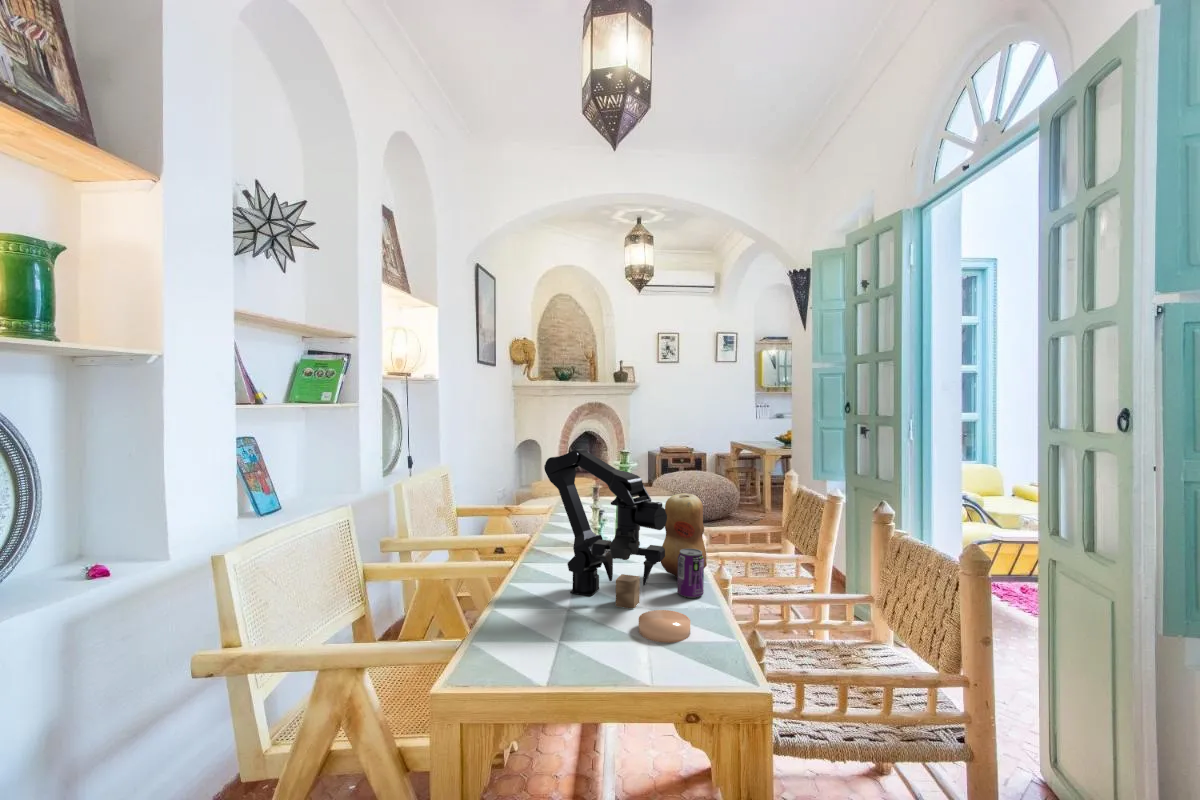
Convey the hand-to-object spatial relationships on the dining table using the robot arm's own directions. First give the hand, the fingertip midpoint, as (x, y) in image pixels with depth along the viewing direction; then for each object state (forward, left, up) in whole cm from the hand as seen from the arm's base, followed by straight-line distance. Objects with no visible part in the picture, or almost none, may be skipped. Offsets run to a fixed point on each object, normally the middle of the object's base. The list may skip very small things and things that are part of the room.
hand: (627, 583), depth 151 cm
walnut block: (0, 0, -6) cm, 6 cm away
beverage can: (+14, +13, -6) cm, 20 cm away
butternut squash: (+9, +27, -6) cm, 29 cm away
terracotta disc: (+13, -13, -6) cm, 19 cm away
